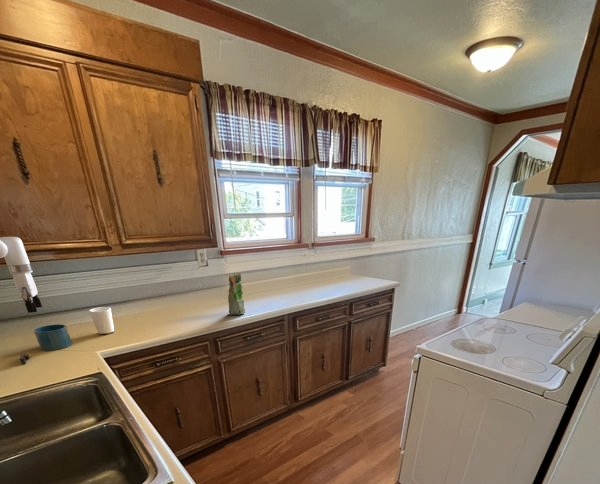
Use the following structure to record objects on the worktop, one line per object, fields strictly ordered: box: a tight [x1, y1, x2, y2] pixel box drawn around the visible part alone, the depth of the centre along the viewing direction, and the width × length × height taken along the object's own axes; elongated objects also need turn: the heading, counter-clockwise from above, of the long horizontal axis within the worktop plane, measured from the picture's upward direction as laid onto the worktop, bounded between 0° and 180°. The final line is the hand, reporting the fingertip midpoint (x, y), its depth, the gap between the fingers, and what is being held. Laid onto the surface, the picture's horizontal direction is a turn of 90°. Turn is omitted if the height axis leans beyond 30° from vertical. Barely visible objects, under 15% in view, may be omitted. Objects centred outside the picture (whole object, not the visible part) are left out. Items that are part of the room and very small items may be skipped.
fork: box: [19, 353, 31, 366], centre depth 139 cm, size 10×3×3 cm, turn 32°
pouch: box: [227, 272, 246, 316], centre depth 202 cm, size 11×12×25 cm
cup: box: [88, 306, 115, 336], centre depth 171 cm, size 10×10×13 cm
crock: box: [33, 323, 73, 352], centre depth 154 cm, size 12×12×9 cm
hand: (35, 309), depth 144 cm, fingers open, 9 cm apart
